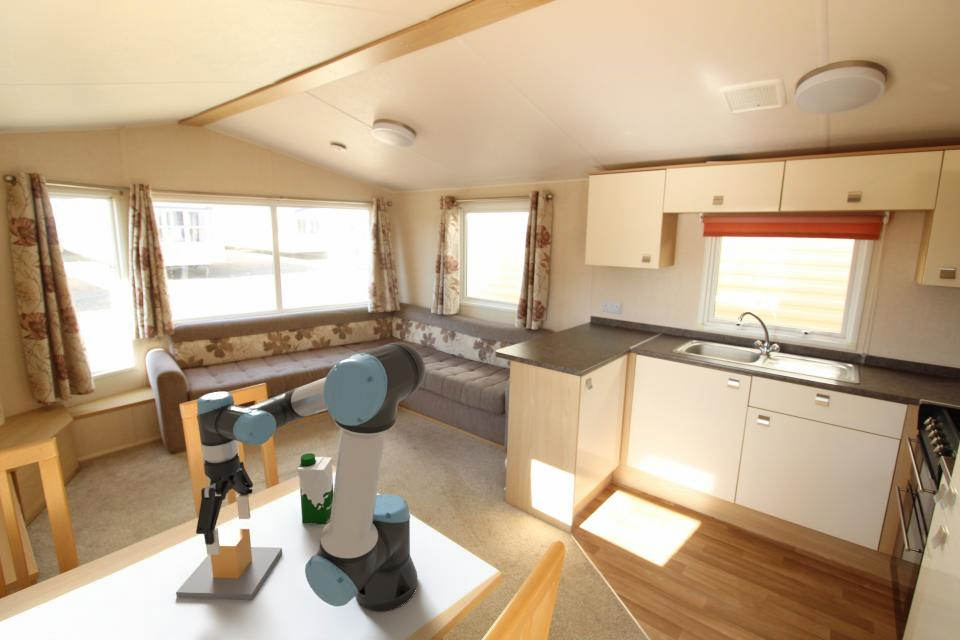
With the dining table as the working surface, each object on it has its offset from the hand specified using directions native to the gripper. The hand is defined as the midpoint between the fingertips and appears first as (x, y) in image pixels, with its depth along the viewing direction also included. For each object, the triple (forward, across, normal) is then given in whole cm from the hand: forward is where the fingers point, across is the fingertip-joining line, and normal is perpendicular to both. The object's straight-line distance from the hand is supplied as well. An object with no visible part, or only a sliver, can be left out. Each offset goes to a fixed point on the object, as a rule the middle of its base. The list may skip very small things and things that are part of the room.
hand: (230, 534), depth 112 cm
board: (+11, 0, -1) cm, 11 cm away
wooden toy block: (+10, 0, 0) cm, 10 cm away
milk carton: (+12, -24, +12) cm, 30 cm away
